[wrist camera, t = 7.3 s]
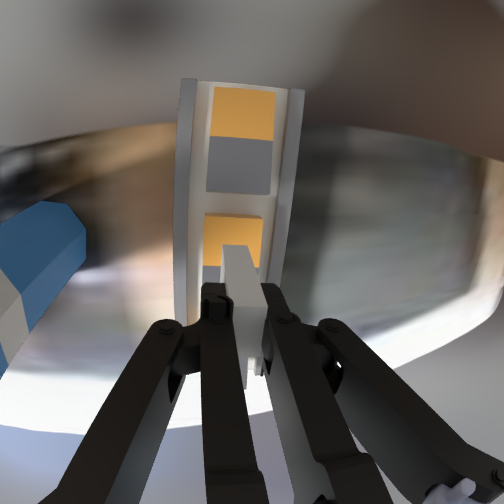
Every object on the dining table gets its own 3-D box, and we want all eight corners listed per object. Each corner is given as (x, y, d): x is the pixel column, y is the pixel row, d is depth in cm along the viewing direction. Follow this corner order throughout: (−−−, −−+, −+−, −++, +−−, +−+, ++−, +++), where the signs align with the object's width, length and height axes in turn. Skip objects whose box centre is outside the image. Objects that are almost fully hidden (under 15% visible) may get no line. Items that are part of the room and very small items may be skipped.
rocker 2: (202, 300, 27) (201, 310, 25) (205, 212, 25) (204, 216, 23) (252, 301, 28) (255, 311, 26) (259, 215, 26) (263, 219, 24)
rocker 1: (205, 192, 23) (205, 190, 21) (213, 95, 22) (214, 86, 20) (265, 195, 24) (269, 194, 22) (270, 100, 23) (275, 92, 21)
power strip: (181, 346, 36) (178, 374, 32) (187, 86, 25) (181, 78, 20) (259, 348, 38) (264, 375, 33) (290, 95, 27) (305, 90, 22)
